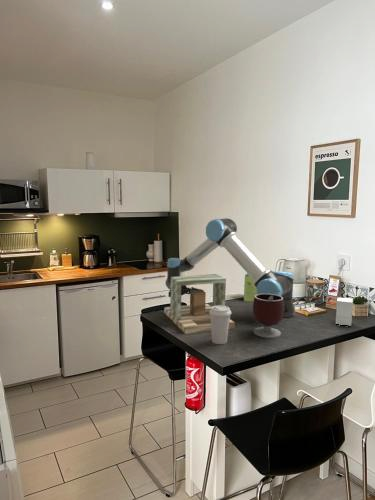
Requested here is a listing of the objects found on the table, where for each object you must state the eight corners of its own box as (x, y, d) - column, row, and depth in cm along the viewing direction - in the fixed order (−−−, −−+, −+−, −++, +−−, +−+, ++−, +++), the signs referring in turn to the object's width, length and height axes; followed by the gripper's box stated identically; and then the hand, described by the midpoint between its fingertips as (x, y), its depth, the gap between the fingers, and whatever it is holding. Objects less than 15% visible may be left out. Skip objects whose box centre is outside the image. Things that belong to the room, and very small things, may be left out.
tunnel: (234, 328, 185) (235, 283, 182) (185, 333, 177) (186, 286, 174) (207, 308, 217) (207, 270, 214) (164, 312, 209) (164, 272, 206)
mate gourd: (250, 327, 187) (251, 287, 184) (279, 328, 187) (281, 287, 184) (254, 339, 172) (256, 295, 169) (286, 340, 171) (288, 296, 168)
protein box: (269, 303, 232) (270, 277, 229) (243, 301, 235) (244, 276, 233) (269, 298, 242) (270, 274, 240) (244, 296, 245) (245, 272, 243)
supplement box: (351, 323, 196) (353, 298, 195) (351, 327, 190) (352, 302, 188) (336, 320, 199) (337, 296, 198) (335, 325, 193) (336, 300, 191)
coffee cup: (207, 337, 173) (207, 305, 171) (228, 337, 173) (229, 304, 171) (210, 345, 163) (211, 311, 161) (232, 345, 164) (233, 311, 162)
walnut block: (205, 315, 195) (205, 292, 193) (194, 316, 193) (194, 293, 191) (200, 312, 200) (201, 289, 199) (189, 313, 198) (190, 290, 197)
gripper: (198, 292, 228) (212, 302, 208) (157, 295, 220) (168, 305, 200) (198, 280, 227) (213, 288, 207) (157, 282, 219) (168, 291, 199)
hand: (191, 297), depth 204 cm, fingers open, 13 cm apart
